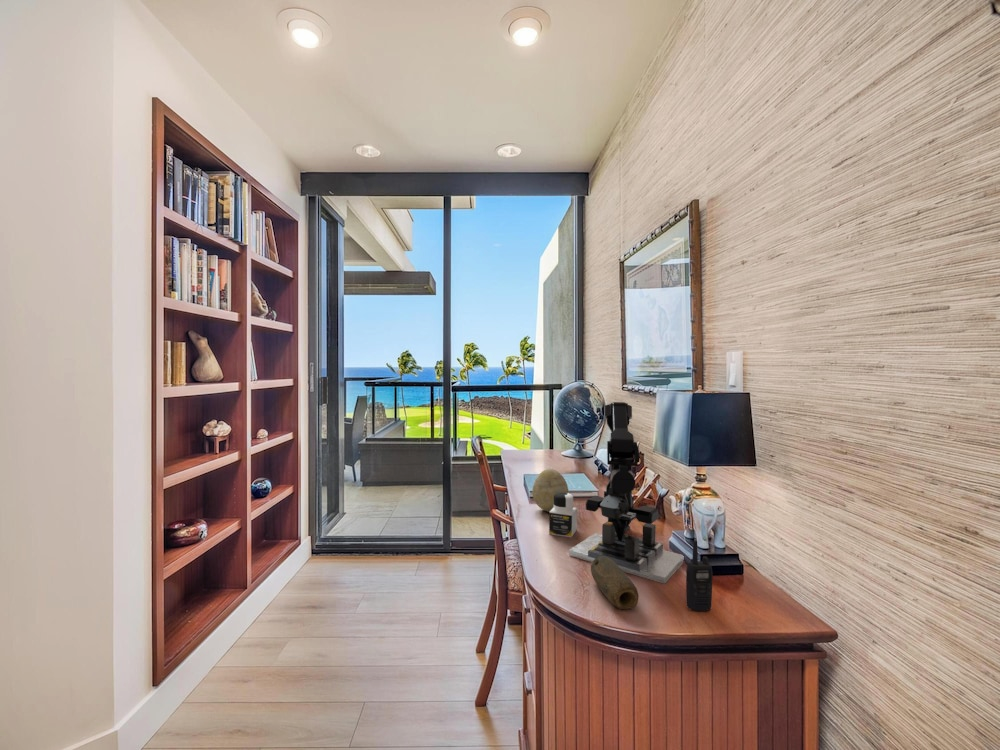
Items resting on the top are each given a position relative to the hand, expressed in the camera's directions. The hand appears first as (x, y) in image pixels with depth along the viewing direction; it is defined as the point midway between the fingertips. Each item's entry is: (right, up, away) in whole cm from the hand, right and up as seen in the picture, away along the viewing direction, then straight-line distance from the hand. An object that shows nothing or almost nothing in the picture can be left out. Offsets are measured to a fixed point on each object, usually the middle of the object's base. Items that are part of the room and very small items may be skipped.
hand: (620, 540), depth 125 cm
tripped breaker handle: (-3, -1, +2) cm, 4 cm away
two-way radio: (+10, -6, -25) cm, 28 cm away
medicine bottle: (-13, -4, +18) cm, 23 cm away
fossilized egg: (-15, -4, +38) cm, 41 cm away
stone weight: (-7, -6, -21) cm, 23 cm away
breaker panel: (+1, -5, -1) cm, 5 cm away
